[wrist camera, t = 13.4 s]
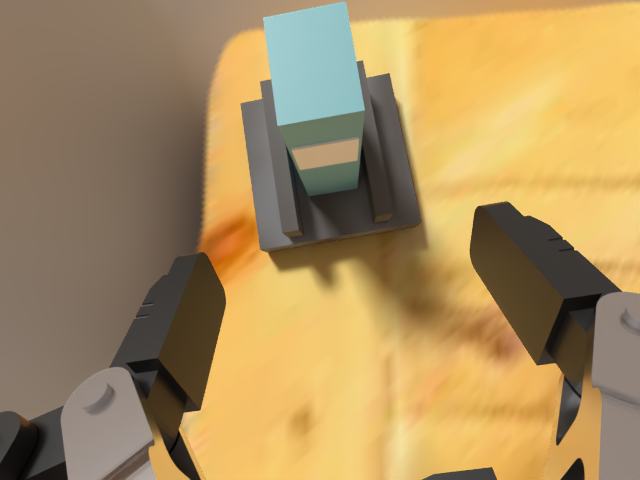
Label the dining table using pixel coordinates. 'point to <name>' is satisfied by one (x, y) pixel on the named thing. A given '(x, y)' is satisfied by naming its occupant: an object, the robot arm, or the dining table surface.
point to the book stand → (338, 207)
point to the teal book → (317, 95)
